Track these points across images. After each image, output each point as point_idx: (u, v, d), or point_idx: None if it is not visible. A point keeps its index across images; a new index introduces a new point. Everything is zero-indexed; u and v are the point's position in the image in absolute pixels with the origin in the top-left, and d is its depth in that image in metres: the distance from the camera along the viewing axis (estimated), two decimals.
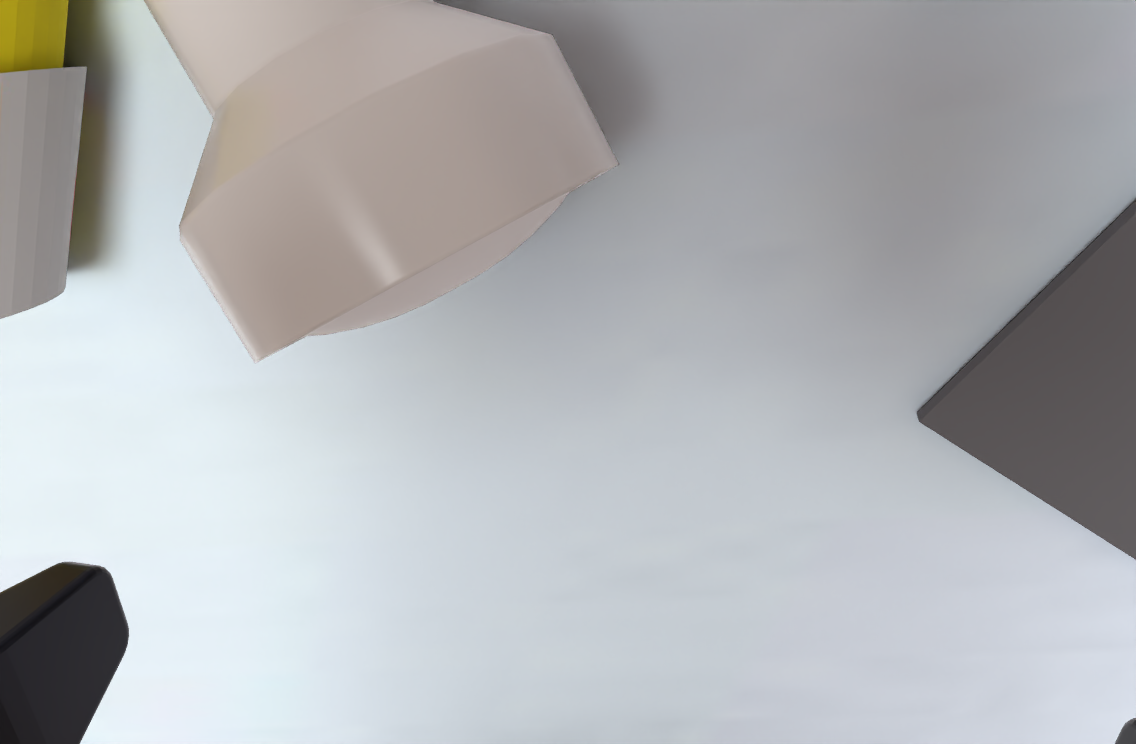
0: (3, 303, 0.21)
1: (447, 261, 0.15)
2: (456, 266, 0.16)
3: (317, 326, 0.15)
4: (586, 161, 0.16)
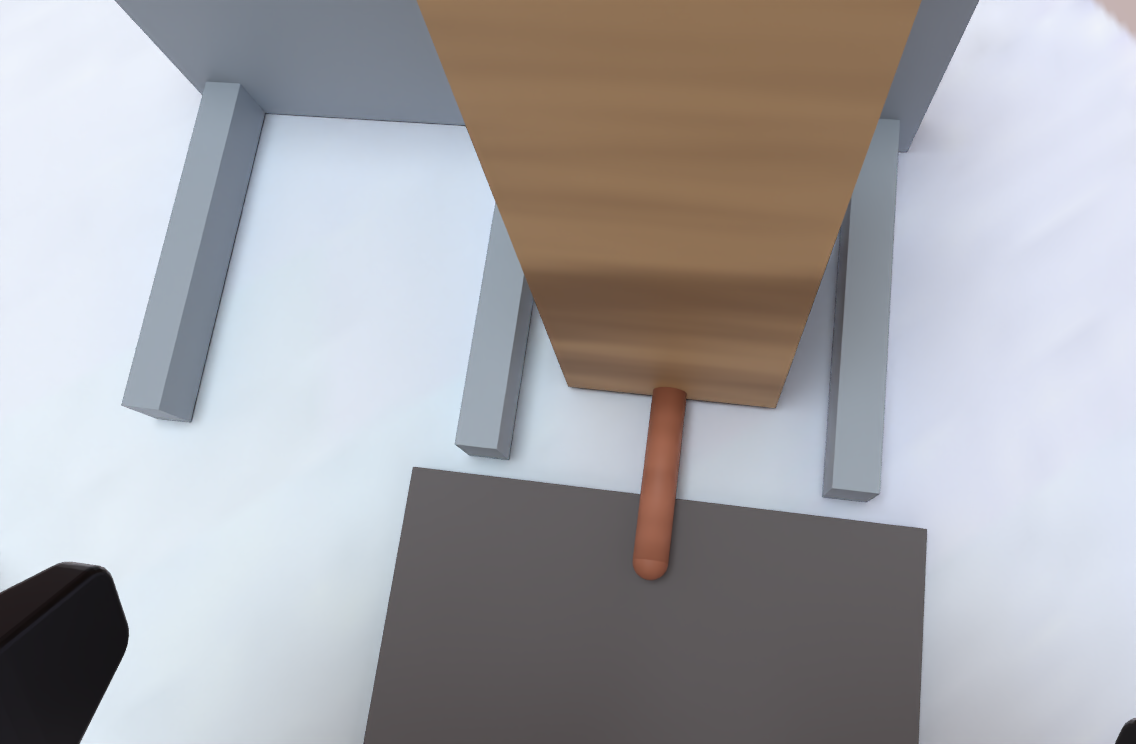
0: None
1: None
2: None
3: None
4: None
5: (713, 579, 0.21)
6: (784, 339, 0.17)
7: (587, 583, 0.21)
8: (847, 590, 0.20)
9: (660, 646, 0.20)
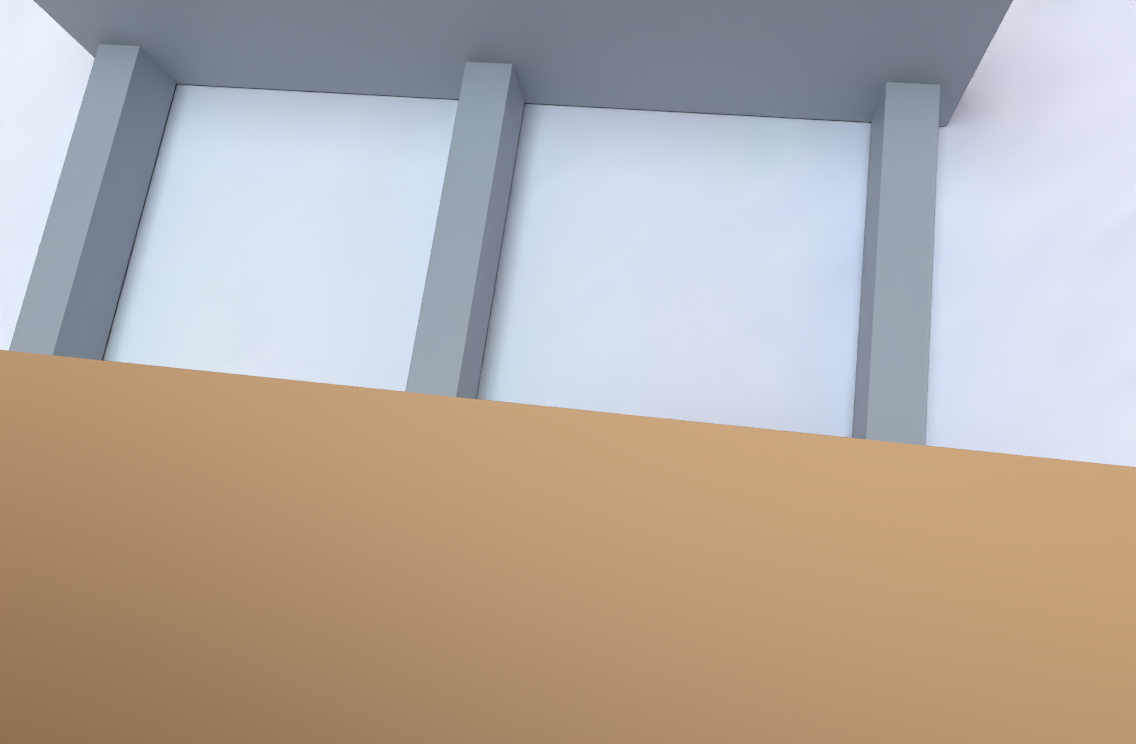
0: None
1: None
2: None
3: None
4: None
5: None
6: None
7: None
8: None
9: None
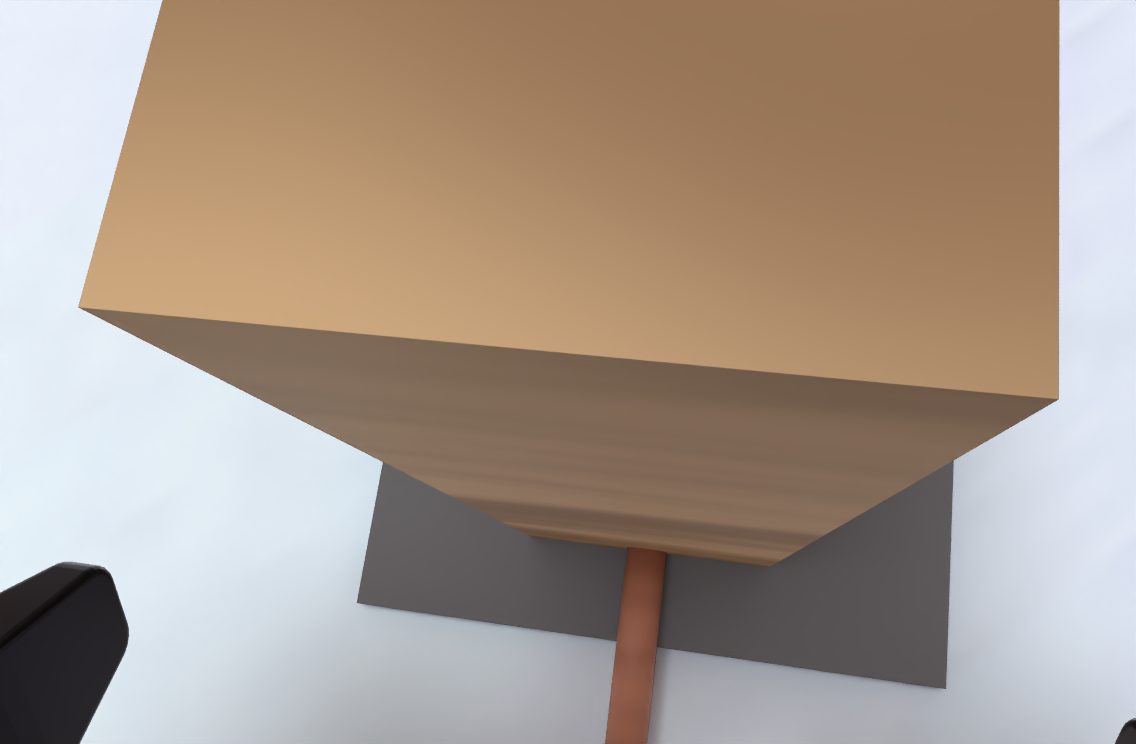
0: None
1: None
2: None
3: None
4: None
5: None
6: (777, 548, 0.14)
7: None
8: None
9: None
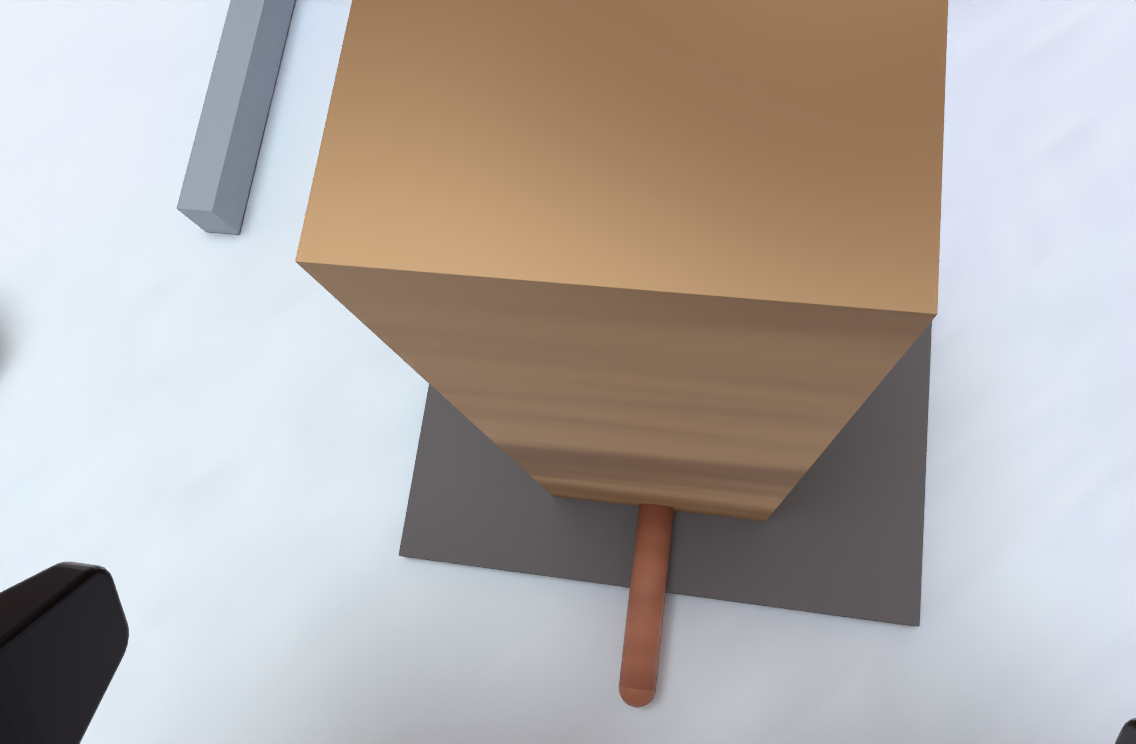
0: None
1: None
2: None
3: None
4: None
5: None
6: (770, 494, 0.17)
7: None
8: None
9: None
